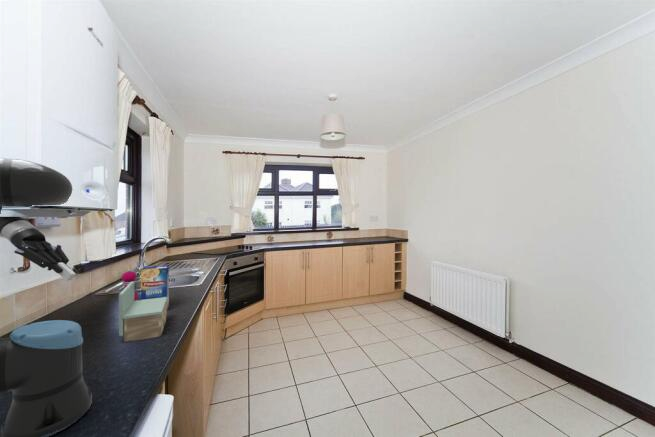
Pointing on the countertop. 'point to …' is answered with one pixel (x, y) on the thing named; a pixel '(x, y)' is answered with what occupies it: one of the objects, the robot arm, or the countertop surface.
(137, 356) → the countertop surface
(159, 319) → the wooden box
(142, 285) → the blue food box
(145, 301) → the grey-green angled piece
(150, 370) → the countertop surface
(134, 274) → the pepper mill
